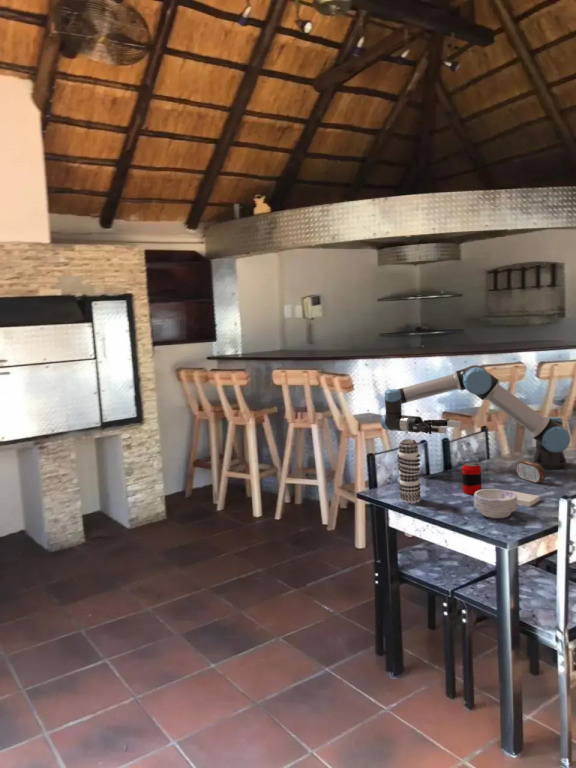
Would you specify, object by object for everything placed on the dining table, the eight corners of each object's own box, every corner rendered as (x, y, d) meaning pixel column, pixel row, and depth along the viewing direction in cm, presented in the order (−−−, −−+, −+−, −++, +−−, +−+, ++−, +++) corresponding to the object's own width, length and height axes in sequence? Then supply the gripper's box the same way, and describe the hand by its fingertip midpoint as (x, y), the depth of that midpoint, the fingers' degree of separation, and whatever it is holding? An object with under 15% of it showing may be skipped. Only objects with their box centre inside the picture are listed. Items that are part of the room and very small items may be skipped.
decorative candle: (410, 495, 256) (407, 437, 253) (426, 500, 249) (424, 440, 246) (394, 500, 251) (391, 440, 248) (410, 505, 244) (408, 444, 241)
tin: (545, 484, 260) (545, 465, 259) (540, 485, 259) (539, 466, 258) (520, 476, 274) (520, 458, 273) (514, 477, 273) (514, 459, 272)
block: (497, 496, 243) (529, 502, 234) (507, 490, 249) (539, 496, 240) (497, 501, 243) (529, 507, 234) (507, 495, 250) (539, 501, 240)
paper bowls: (523, 512, 228) (523, 491, 227) (507, 524, 217) (507, 502, 216) (484, 505, 238) (484, 485, 237) (467, 516, 227) (466, 496, 226)
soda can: (482, 495, 251) (481, 466, 249) (463, 495, 252) (462, 466, 251) (480, 489, 258) (479, 462, 257) (462, 489, 260) (461, 462, 258)
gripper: (426, 427, 293) (467, 430, 278) (397, 437, 275) (439, 441, 260) (425, 411, 292) (466, 414, 277) (396, 420, 274) (438, 424, 259)
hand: (453, 427), depth 269 cm, fingers open, 13 cm apart
